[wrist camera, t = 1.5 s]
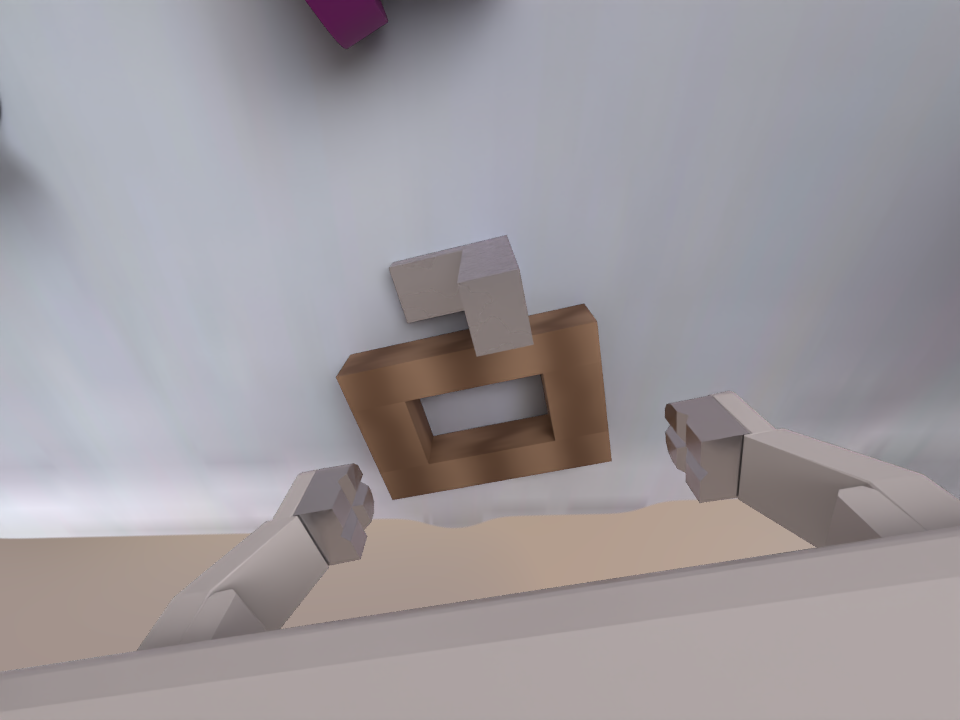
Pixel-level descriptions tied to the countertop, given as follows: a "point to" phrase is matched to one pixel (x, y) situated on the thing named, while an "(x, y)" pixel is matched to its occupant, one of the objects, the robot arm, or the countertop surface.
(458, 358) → the well block
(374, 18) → the mounting bracket
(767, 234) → the countertop surface
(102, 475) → the countertop surface
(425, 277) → the angle bracket
